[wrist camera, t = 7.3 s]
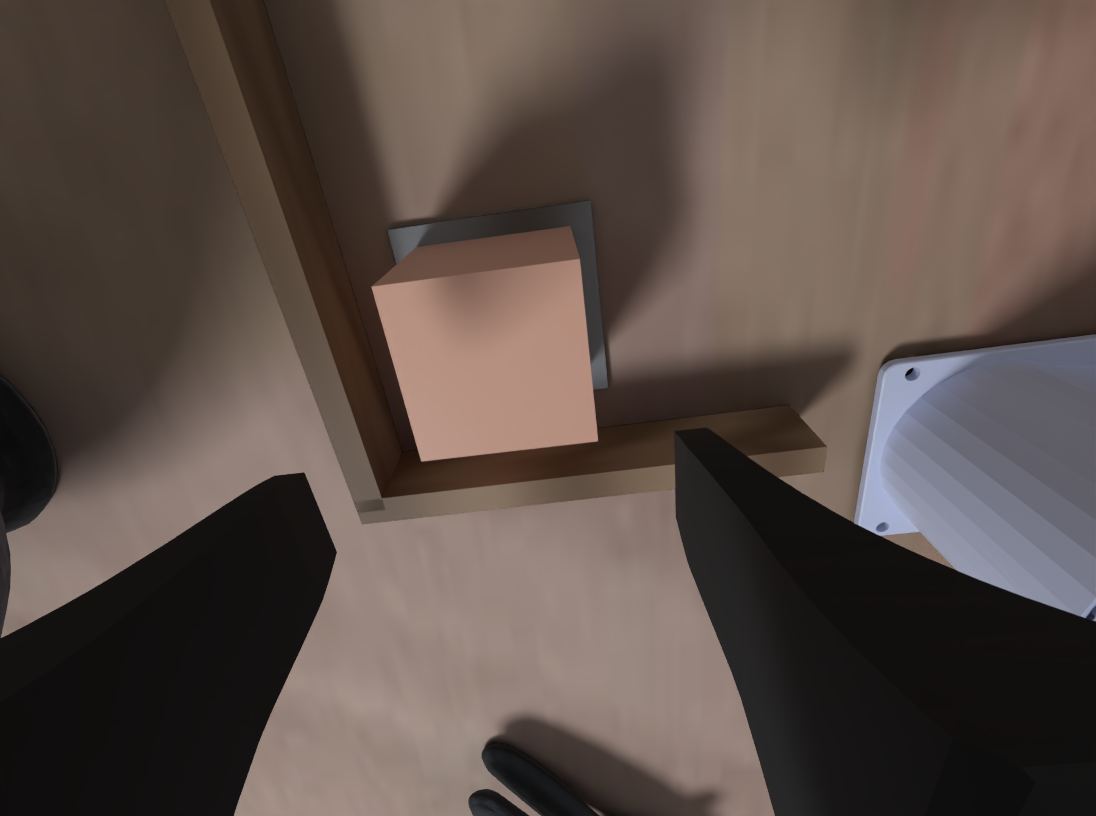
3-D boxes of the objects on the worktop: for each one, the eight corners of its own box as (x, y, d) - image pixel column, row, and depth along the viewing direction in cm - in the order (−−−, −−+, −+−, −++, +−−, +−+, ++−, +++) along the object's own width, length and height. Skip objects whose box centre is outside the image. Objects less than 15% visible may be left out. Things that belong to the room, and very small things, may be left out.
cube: (570, 226, 17) (580, 258, 12) (585, 370, 19) (598, 441, 15) (416, 247, 17) (371, 286, 13) (449, 386, 19) (421, 461, 15)
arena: (845, -273, 12) (930, -389, 9) (787, 427, 20) (823, 471, 18) (176, -146, 13) (81, -219, 10) (384, 475, 21) (362, 524, 19)
